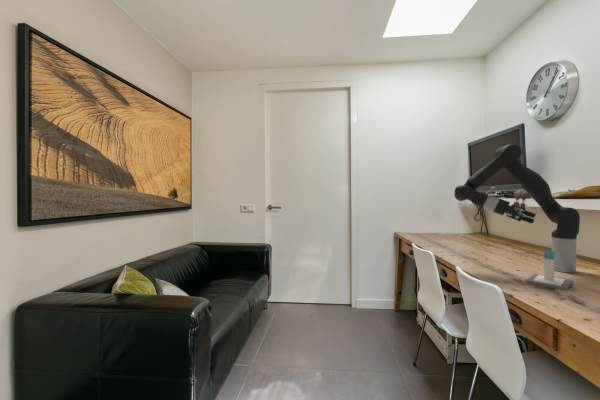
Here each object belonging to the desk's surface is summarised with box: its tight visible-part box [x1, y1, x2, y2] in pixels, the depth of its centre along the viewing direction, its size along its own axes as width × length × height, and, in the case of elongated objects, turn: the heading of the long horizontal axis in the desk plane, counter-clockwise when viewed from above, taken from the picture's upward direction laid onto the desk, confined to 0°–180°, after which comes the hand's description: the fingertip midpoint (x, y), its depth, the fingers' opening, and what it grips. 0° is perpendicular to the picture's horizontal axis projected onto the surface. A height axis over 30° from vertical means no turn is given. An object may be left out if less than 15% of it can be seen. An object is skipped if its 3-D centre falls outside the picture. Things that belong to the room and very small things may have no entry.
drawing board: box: [525, 273, 573, 291], centre depth 118 cm, size 16×13×1 cm
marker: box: [543, 249, 555, 281], centre depth 118 cm, size 4×4×13 cm
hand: (534, 218), depth 126 cm, fingers open, 8 cm apart
